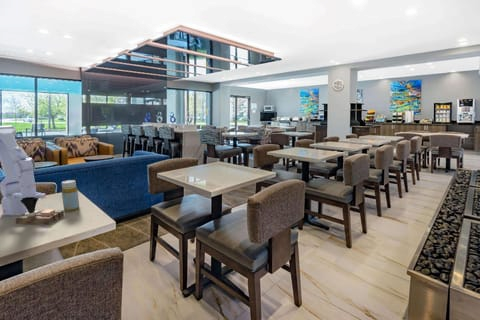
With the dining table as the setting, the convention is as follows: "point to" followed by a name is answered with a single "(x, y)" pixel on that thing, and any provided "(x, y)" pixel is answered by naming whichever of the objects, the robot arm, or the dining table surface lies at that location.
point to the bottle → (70, 195)
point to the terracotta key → (47, 212)
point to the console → (40, 218)
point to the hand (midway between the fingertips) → (31, 212)
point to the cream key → (31, 213)
